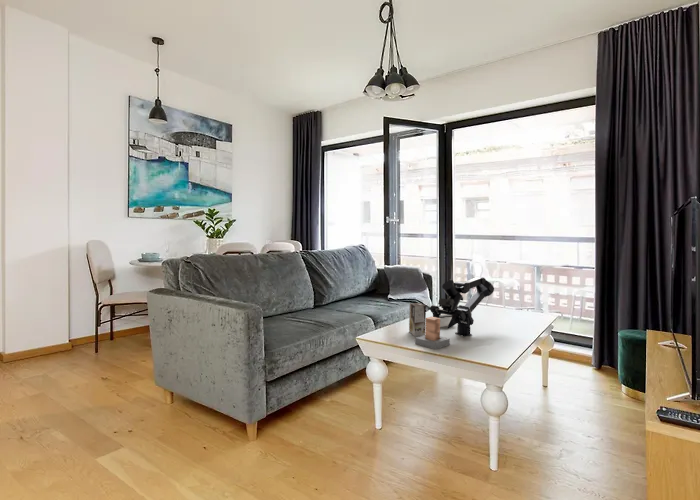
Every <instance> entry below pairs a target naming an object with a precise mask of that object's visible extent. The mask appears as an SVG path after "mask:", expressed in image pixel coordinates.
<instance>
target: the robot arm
mask: <svg viewBox="0 0 700 500" xmlns="http://www.w3.org/2000/svg"><path fill="white" fill-rule="evenodd" d="M441 287H442V289H443V291H444V293H445V294H446V295H447V296H448V298H443V297H440V298H439V300H438V303H437V305H434V304H432V305H430V307H429V310H430V313H432V317H436V318H440V315H441V313H442V314H447V315H452V319H451V321H450V323H449V325H448V326H446V327H447V329H451V328H453V326H455V325H457V326H456V327H457V330H456V331H457V332H454V334H455V335H458V336H460V337H468V336H469V337H470V336H473V334H472V333H471V326H472V325H474V322H475V321H474V318H473V317H472V313H473V311H474V310H475V309H476V308H477V306H478V305H479V304H480V303H481V302H482V301H483V299H484V298H486V297H490V296H491V295H492V294H493V293H494V291H495V287H494V285H493V283H492V282H490V281H489V280H487V279H486V278H485V277H483V276H475V277H474V278H471V279H468V280H464V281H462V280H461V281H459V280H458V281H455V282H454V280H453V279H449V280H448V281H445V282H444V283H443V284H442V285H441ZM474 288H476V292H475V293H474V294H473V296H472V297H470V299H469V300H468V301H467V303H466V304H464V305H459V304H460V302H461V301H464V297H463V294H467V293H469V292H470V291H471V289H474ZM438 305H440V307H441V309H440V307H439V306H438Z"/></svg>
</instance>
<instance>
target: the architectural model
mask: <svg viewBox="0 0 700 500" xmlns="http://www.w3.org/2000/svg"><path fill="white" fill-rule="evenodd" d="M451 319H452V315H447V314H442V313H441V315H440V328H442V327H448V325H449V323H450V321H451Z"/></svg>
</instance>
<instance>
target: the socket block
mask: <svg viewBox="0 0 700 500" xmlns="http://www.w3.org/2000/svg"><path fill="white" fill-rule="evenodd" d="M450 343H451V338H449V337H444V336H441V335H440V339H438V340H435V341H433V340H429V339H425V335H423V336H415V338H414V344H415V345H418V346H421V347H426V348H429V349H433V350H438V349H441V348H444V347H446V346H449V345H451V344H450Z"/></svg>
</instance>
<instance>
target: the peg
mask: <svg viewBox="0 0 700 500" xmlns="http://www.w3.org/2000/svg"><path fill="white" fill-rule="evenodd" d="M440 336H441V327H440V318H436V317H433V316H429V317H426V319H425V339H429V340H433V341H435V340H438V339H440Z"/></svg>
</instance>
